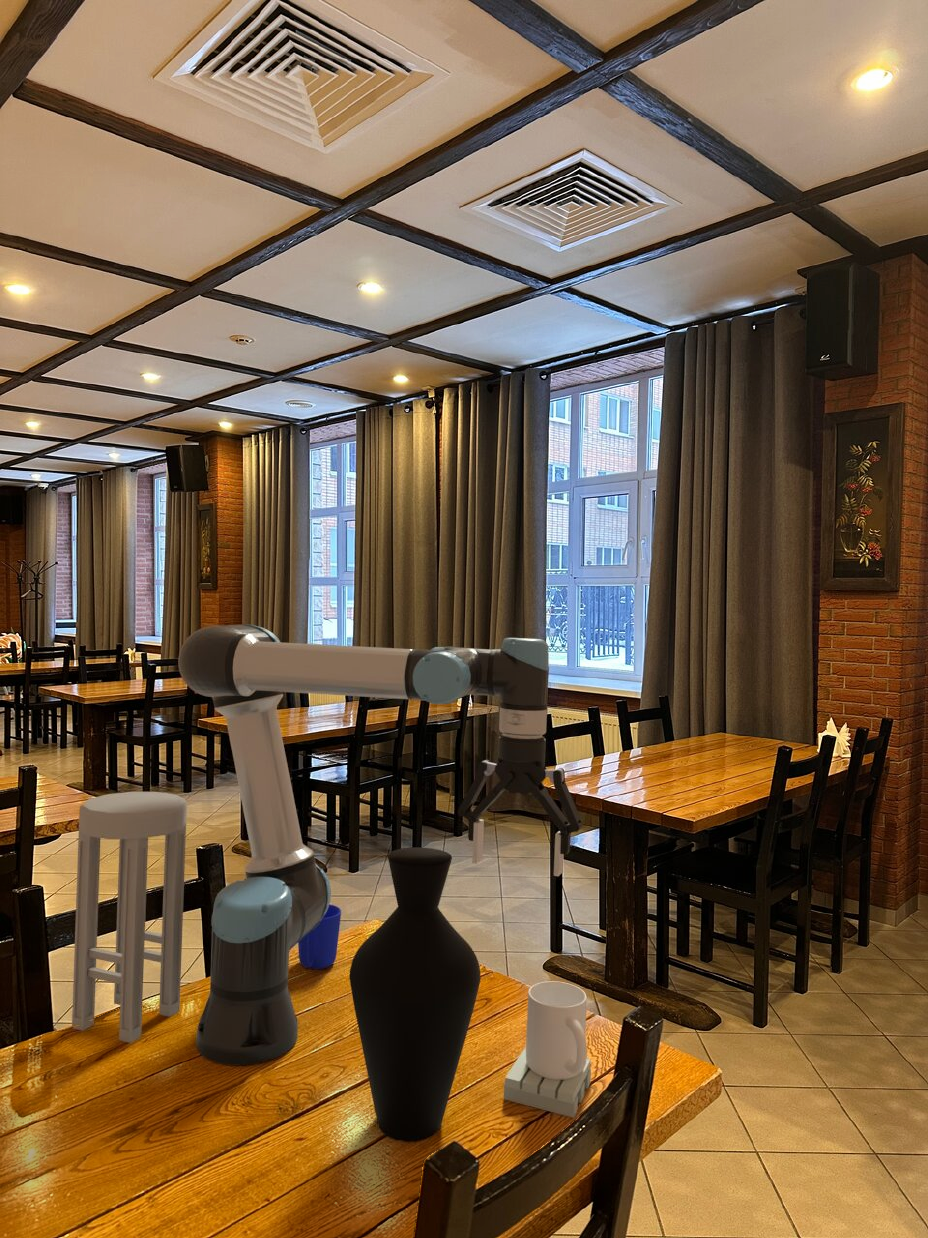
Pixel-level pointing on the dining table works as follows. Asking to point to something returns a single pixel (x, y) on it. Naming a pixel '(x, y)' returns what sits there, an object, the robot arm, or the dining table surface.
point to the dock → (545, 1088)
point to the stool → (129, 904)
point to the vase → (414, 999)
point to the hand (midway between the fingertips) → (517, 867)
